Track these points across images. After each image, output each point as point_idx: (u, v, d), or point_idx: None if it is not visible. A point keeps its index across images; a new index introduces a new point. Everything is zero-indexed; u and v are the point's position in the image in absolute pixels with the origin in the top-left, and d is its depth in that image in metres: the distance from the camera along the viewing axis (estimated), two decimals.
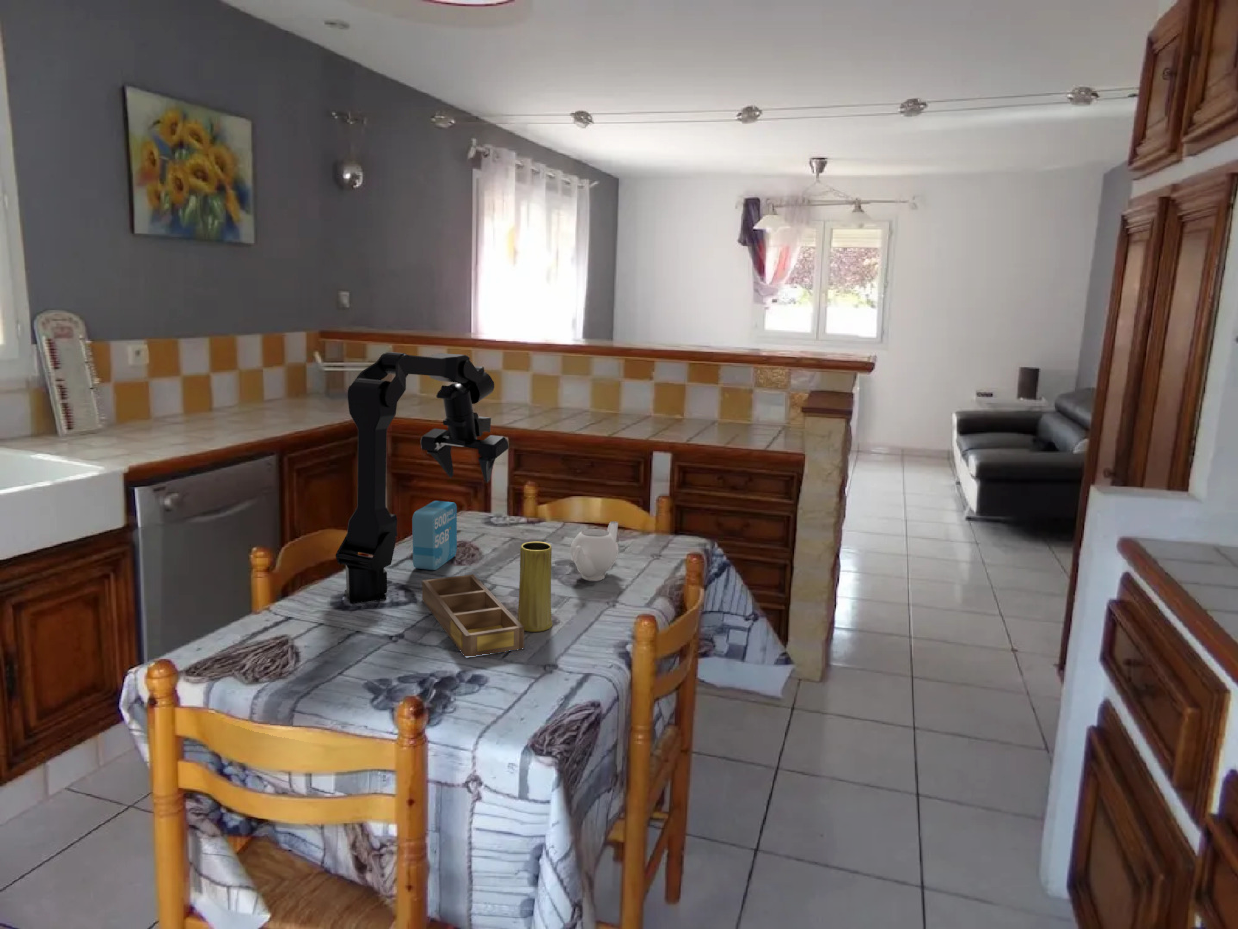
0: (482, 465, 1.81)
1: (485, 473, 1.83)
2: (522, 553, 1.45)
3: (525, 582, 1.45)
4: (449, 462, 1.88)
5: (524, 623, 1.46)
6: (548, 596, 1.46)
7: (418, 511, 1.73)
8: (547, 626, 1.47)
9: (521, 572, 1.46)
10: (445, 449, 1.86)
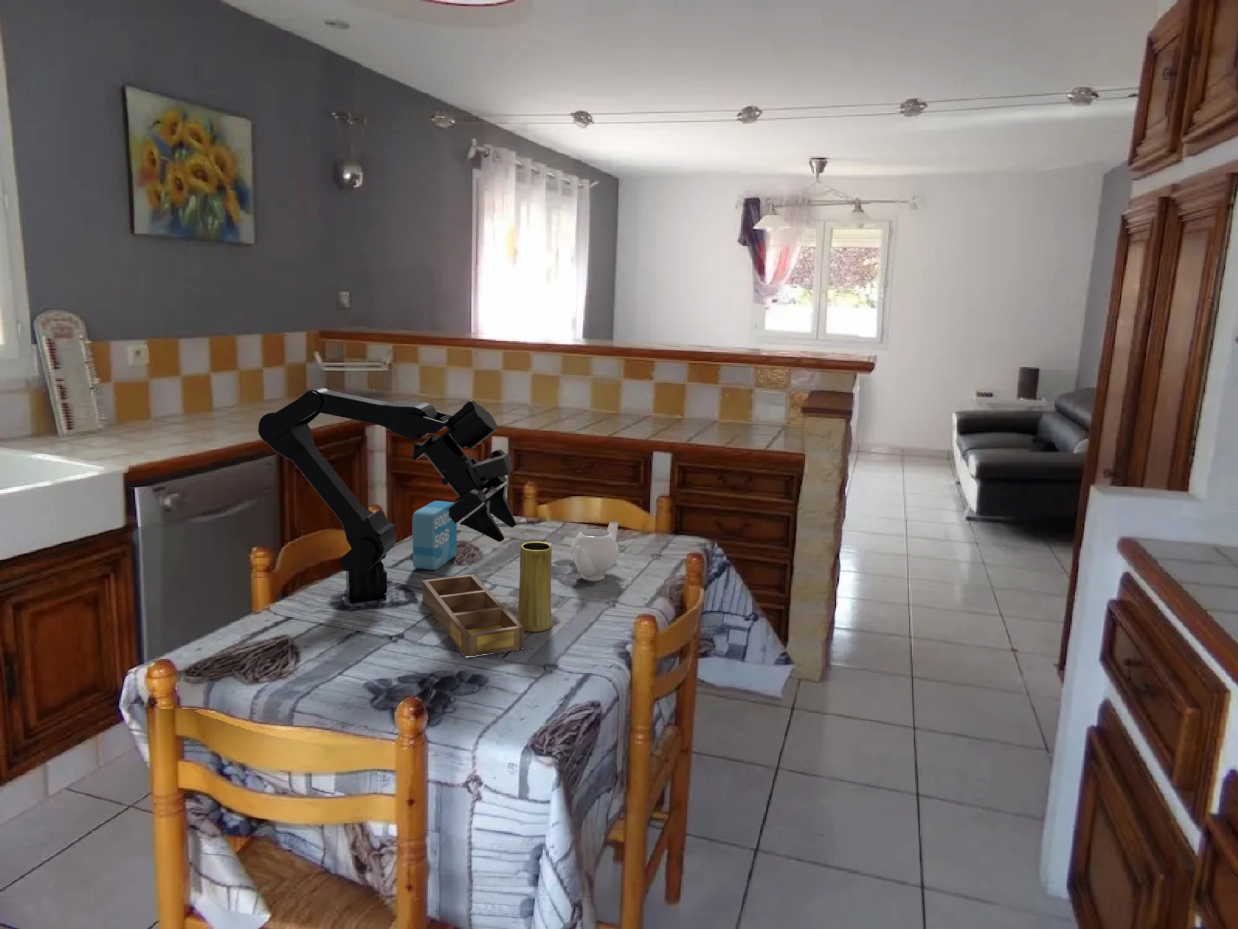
0: None
1: None
2: (522, 553, 1.45)
3: (525, 582, 1.45)
4: (503, 511, 1.58)
5: (524, 623, 1.46)
6: (548, 596, 1.46)
7: (418, 511, 1.73)
8: (547, 626, 1.47)
9: (521, 572, 1.46)
10: (492, 497, 1.58)
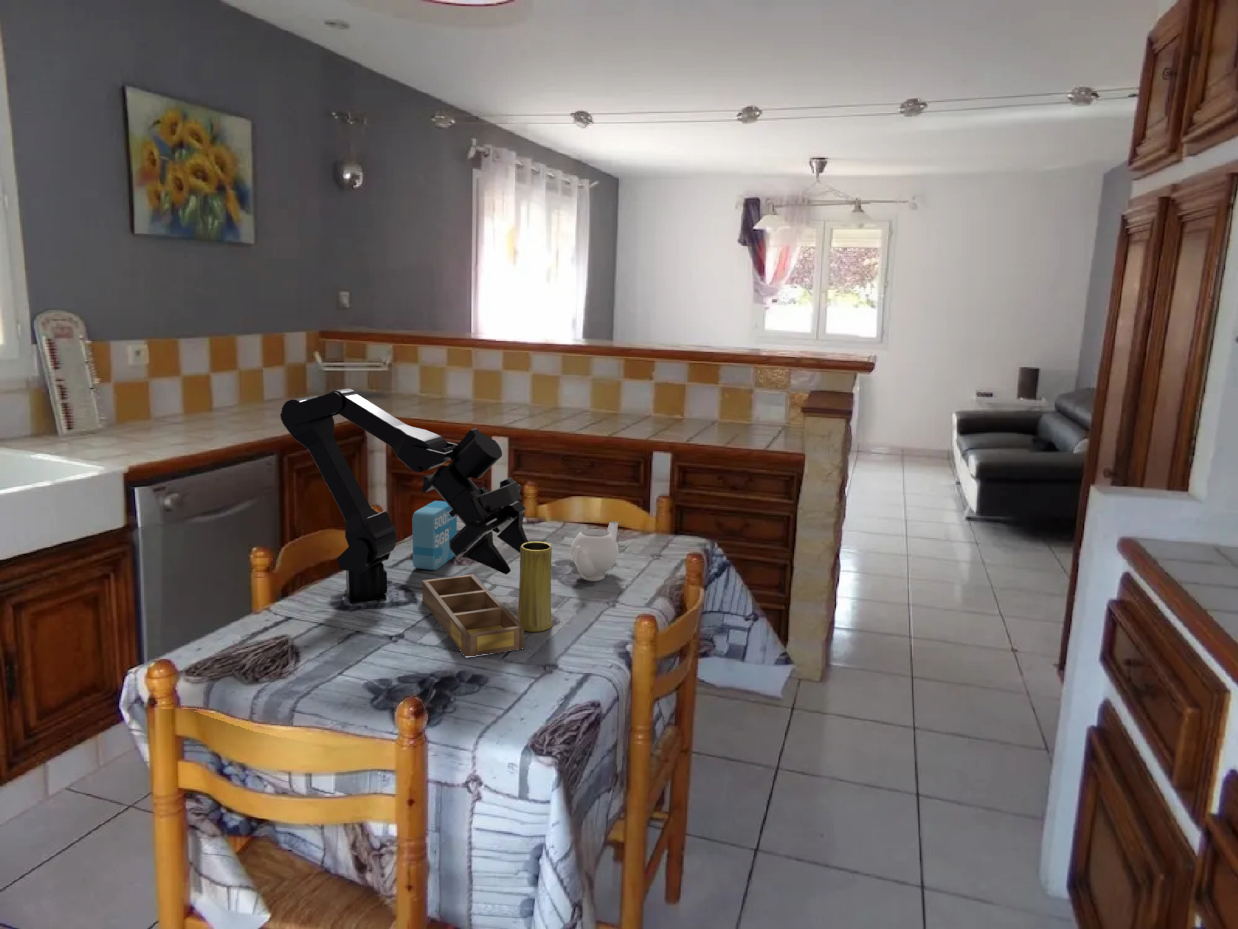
0: None
1: None
2: (522, 553, 1.45)
3: (525, 582, 1.45)
4: (520, 542, 1.52)
5: (524, 623, 1.46)
6: (548, 596, 1.46)
7: (418, 511, 1.73)
8: (547, 626, 1.47)
9: (521, 572, 1.46)
10: (508, 527, 1.53)
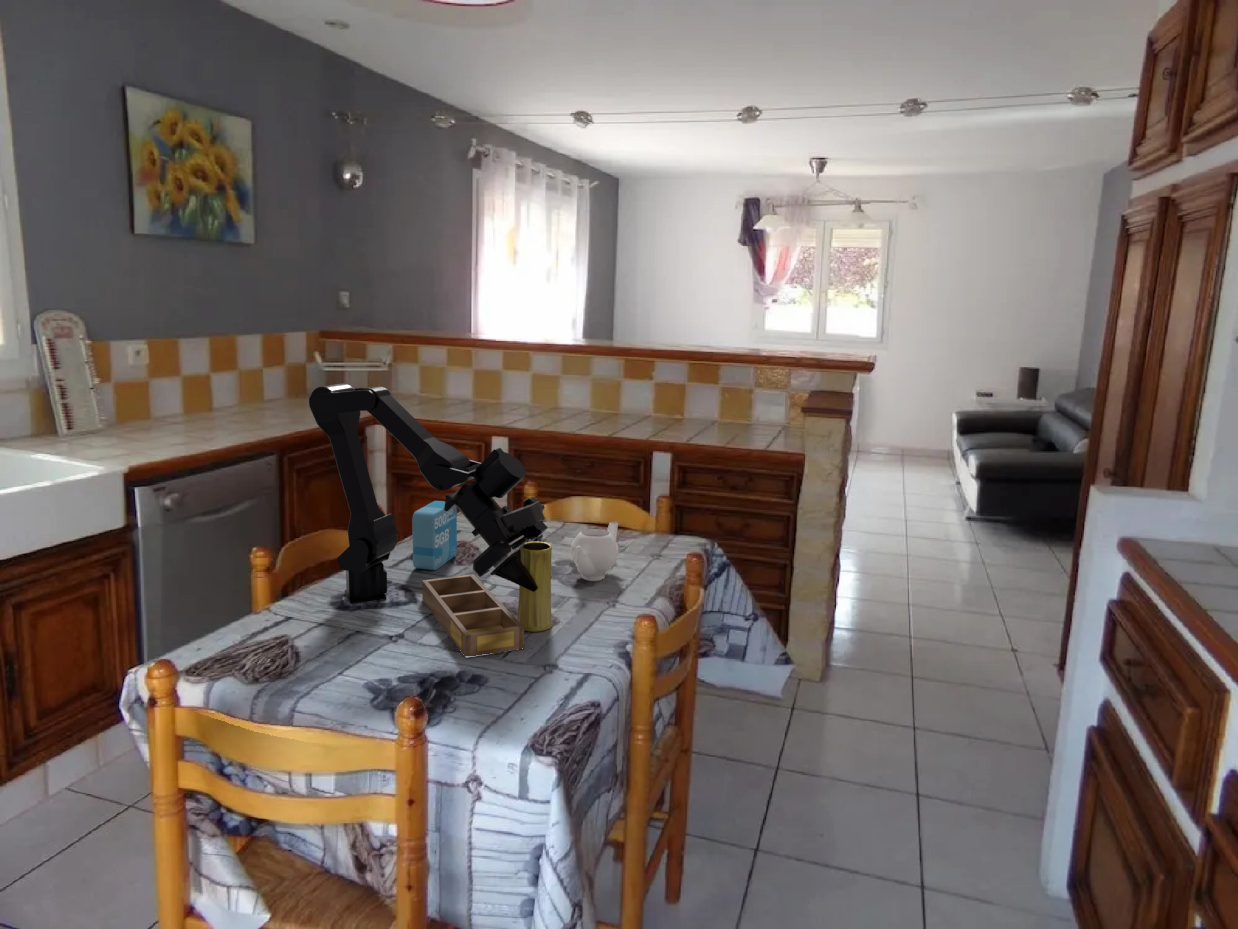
0: None
1: None
2: (522, 553, 1.45)
3: None
4: None
5: (524, 623, 1.46)
6: (548, 596, 1.46)
7: (418, 511, 1.73)
8: (547, 626, 1.47)
9: None
10: None
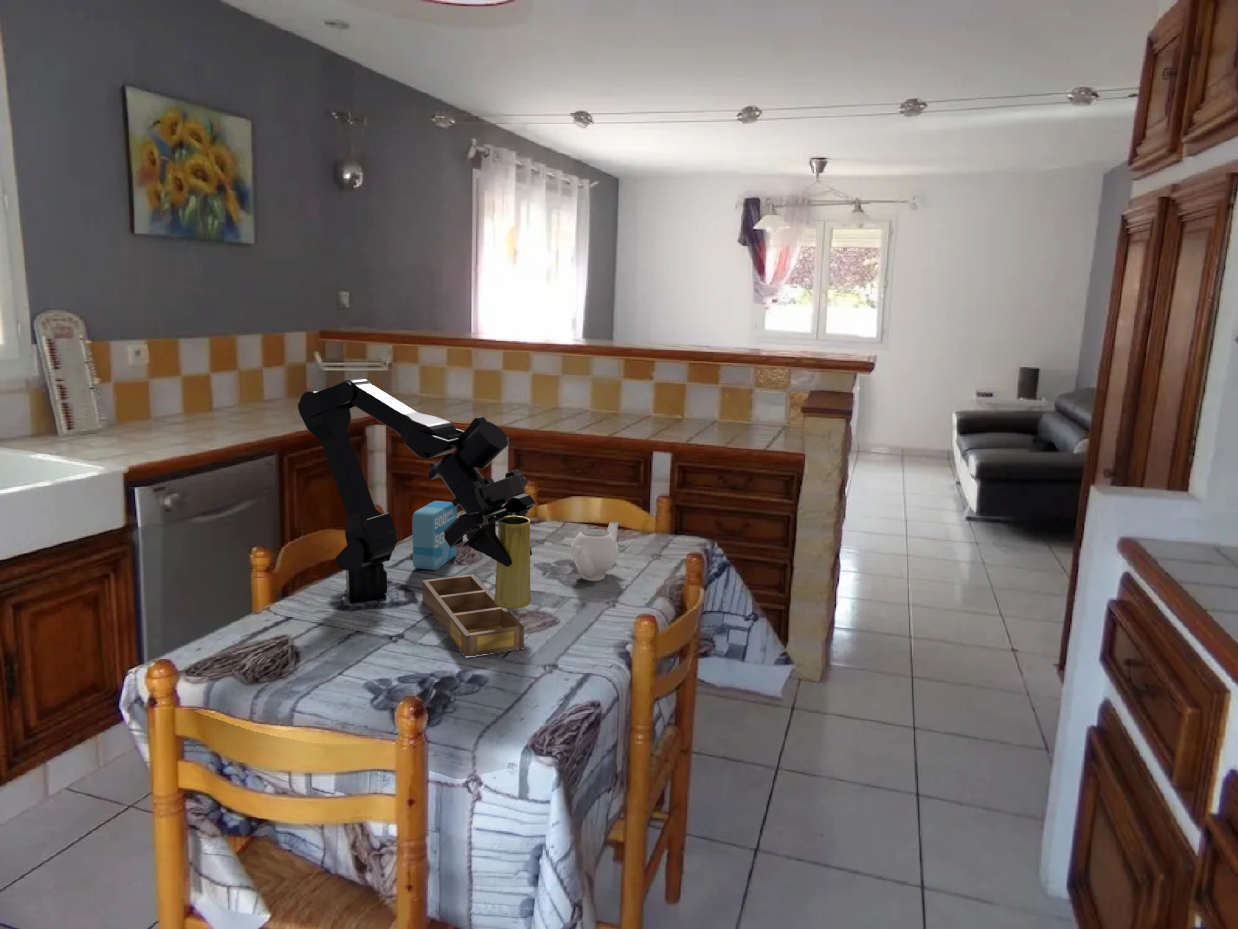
0: None
1: None
2: (499, 526, 1.40)
3: None
4: None
5: (499, 598, 1.42)
6: (524, 573, 1.41)
7: (418, 511, 1.73)
8: (523, 604, 1.42)
9: None
10: None
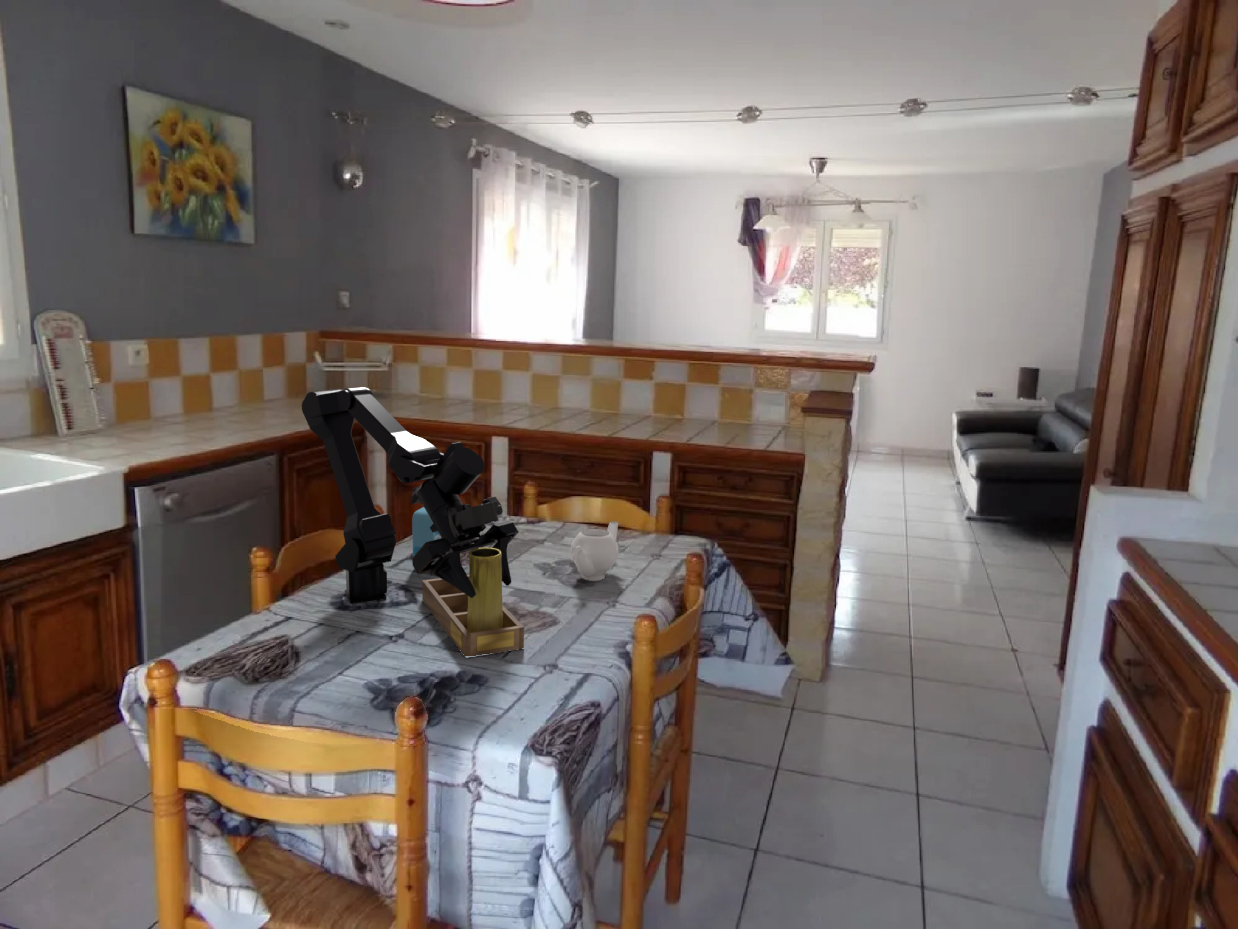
0: None
1: None
2: None
3: None
4: None
5: (469, 632, 1.39)
6: (494, 607, 1.38)
7: (418, 511, 1.73)
8: None
9: None
10: None
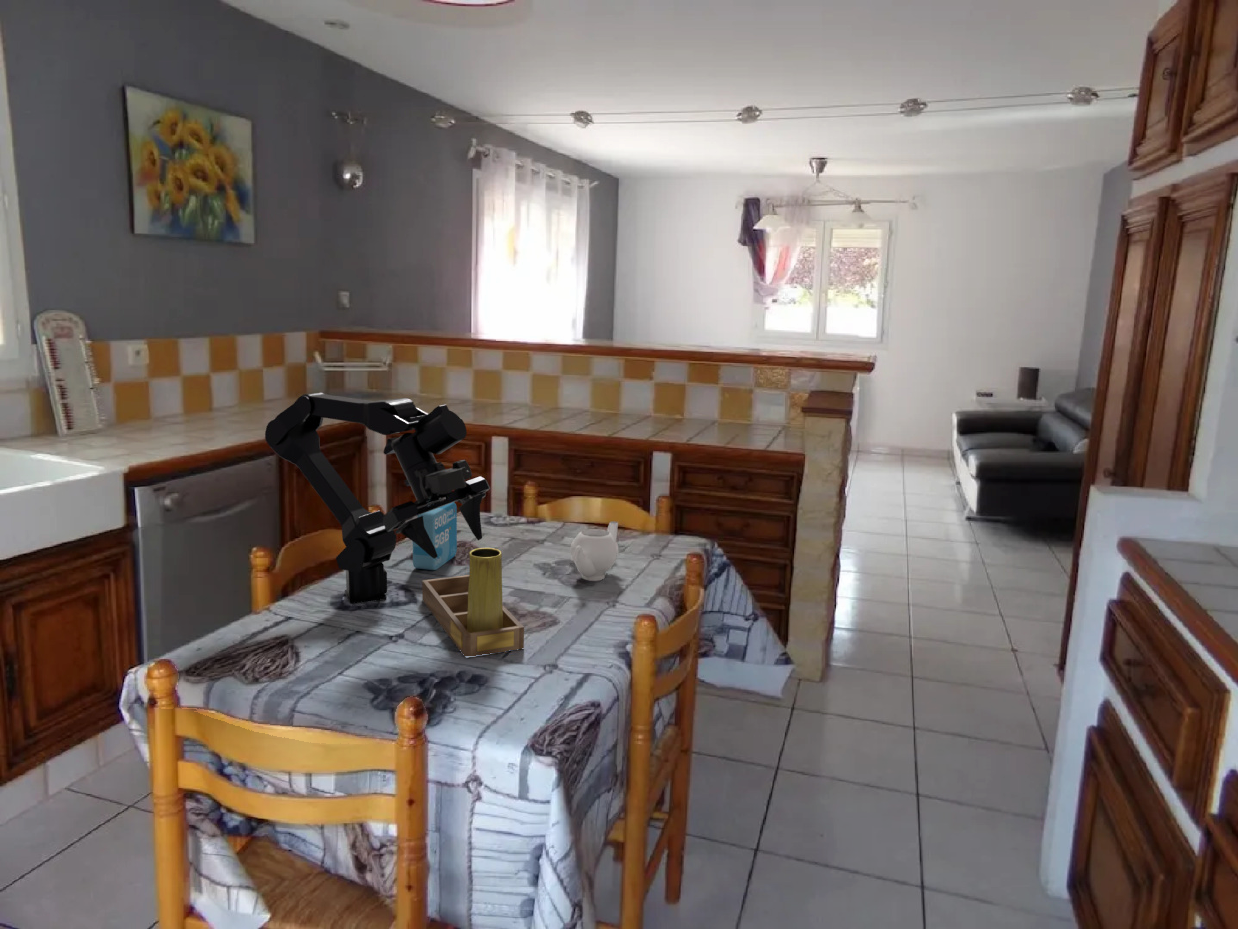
0: None
1: None
2: None
3: (470, 589, 1.38)
4: (472, 521, 1.50)
5: (469, 632, 1.39)
6: (494, 607, 1.38)
7: None
8: None
9: None
10: (466, 504, 1.51)
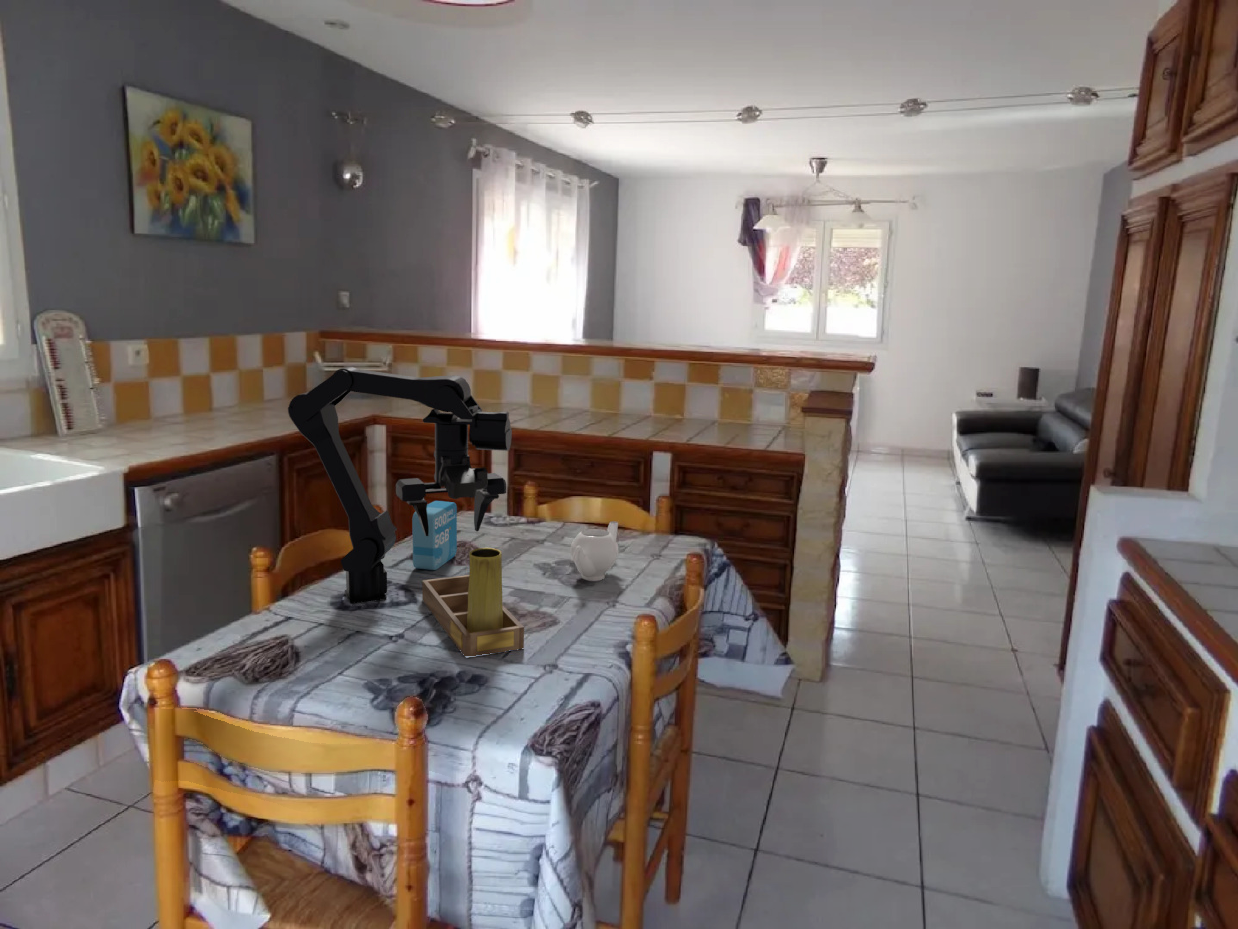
0: None
1: None
2: None
3: (470, 589, 1.38)
4: (477, 513, 1.57)
5: (469, 632, 1.39)
6: (494, 607, 1.38)
7: None
8: None
9: None
10: (479, 495, 1.57)
